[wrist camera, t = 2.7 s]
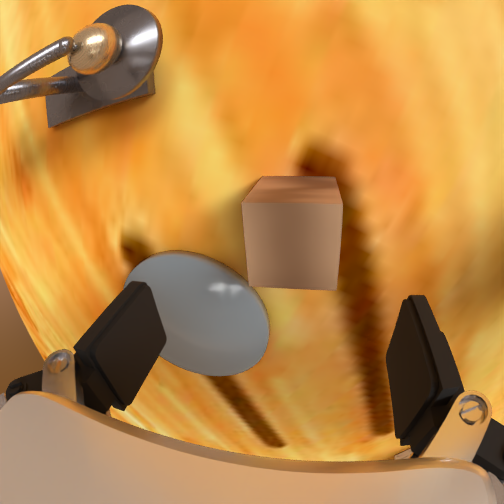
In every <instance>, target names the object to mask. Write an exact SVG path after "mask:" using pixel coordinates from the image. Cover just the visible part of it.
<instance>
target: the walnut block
mask: <svg viewBox="0 0 504 504" xmlns="http://www.w3.org/2000/svg"><path fill="white" fill-rule="evenodd" d="M241 205H242V216H243V228H244V239H245V250H246V261H247V272H248V283H249V286H254V287H271V288H289V289H310V290H335V291H336V289H337V279H338V269H339V257H340V245H341V230H342V212H343V203H342V199H341V196H340V192H339V189H338V185H337V182H336V178H335V177H316V176H262V177H261V179H260V180H259V181H258V182H257V184H256V185H255V186H254V187H253V189H252V190H251V191H250V192H249V194H248V195H247V196H246V197H245V199H244V200H243V201H242V202H241Z"/></svg>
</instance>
